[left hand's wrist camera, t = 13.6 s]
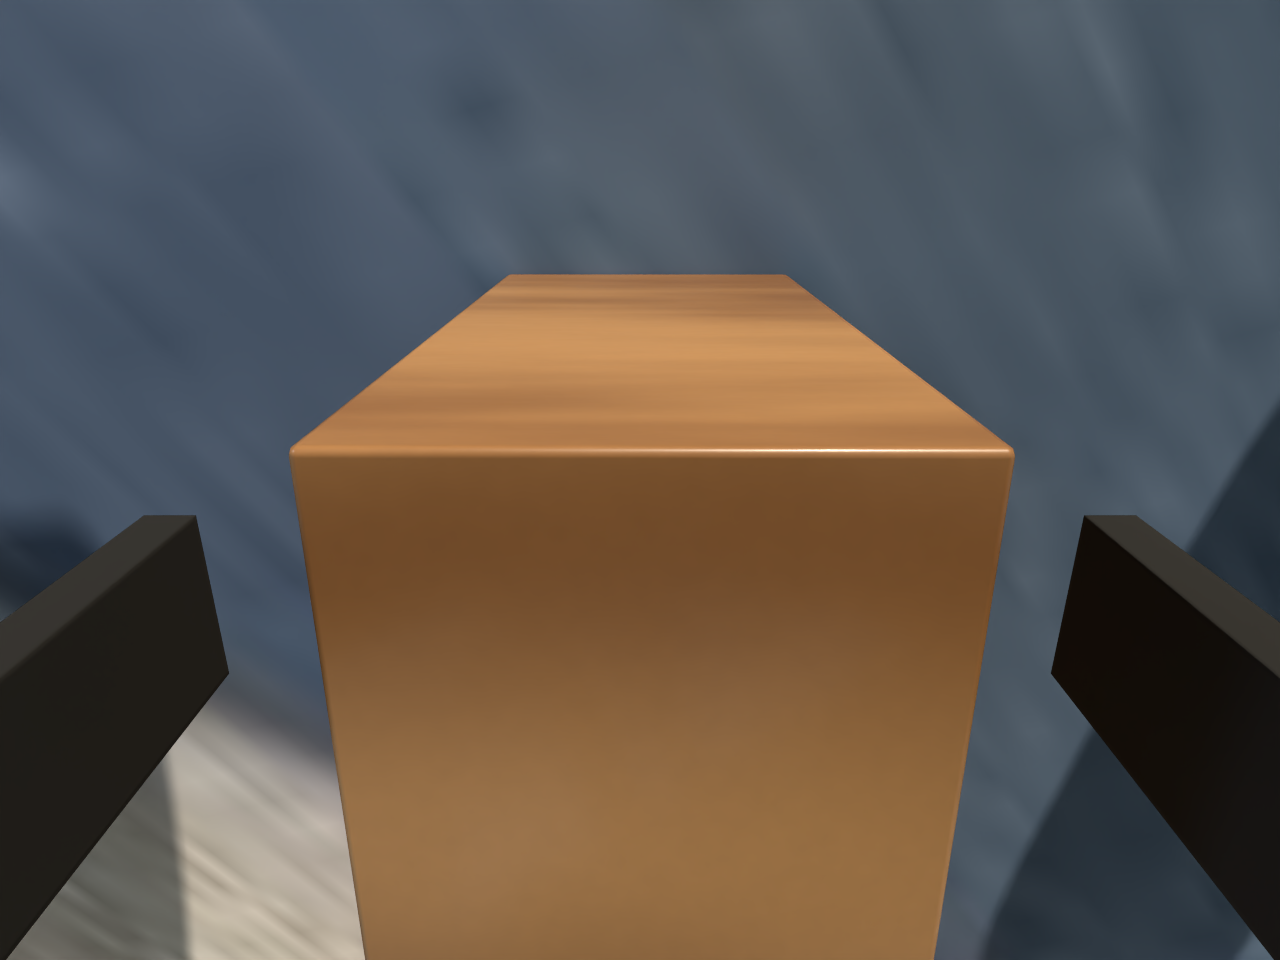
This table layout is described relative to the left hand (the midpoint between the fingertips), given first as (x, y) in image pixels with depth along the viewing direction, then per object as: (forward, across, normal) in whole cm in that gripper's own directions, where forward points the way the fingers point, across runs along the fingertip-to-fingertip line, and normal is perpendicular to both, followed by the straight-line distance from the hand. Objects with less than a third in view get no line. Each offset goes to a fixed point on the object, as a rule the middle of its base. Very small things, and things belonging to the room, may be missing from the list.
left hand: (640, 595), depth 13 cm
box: (+8, 0, -10) cm, 13 cm away
